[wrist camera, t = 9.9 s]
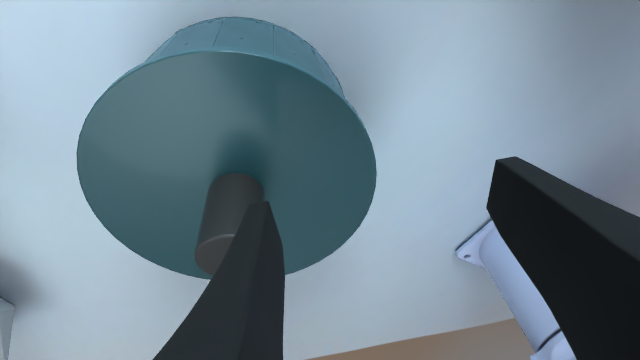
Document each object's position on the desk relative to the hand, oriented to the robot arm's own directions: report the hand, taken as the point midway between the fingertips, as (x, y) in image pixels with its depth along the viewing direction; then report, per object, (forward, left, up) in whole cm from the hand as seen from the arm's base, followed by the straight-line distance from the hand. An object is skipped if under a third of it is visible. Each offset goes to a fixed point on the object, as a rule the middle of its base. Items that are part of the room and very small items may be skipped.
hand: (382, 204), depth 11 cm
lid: (+3, +5, -4) cm, 7 cm away
